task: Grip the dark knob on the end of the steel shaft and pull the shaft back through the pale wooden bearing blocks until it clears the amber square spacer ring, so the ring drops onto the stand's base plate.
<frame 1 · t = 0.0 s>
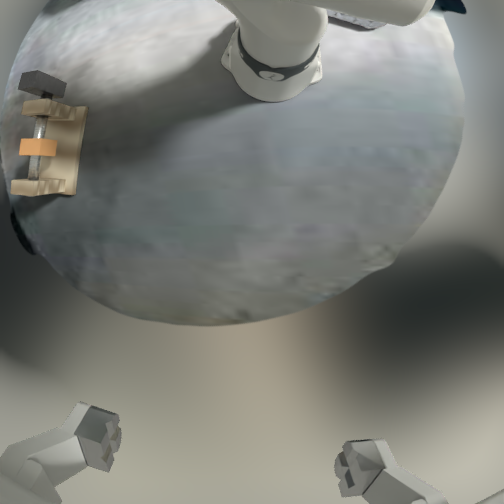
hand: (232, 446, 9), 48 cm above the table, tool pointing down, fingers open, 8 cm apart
shaft: (32, 136, 40), point 11 cm above the table, slide at 0.0 cm, touching spacer
shaft stand: (62, 149, 51), on the table
spacer: (46, 148, 45), point 6 cm above the table, touching shaft
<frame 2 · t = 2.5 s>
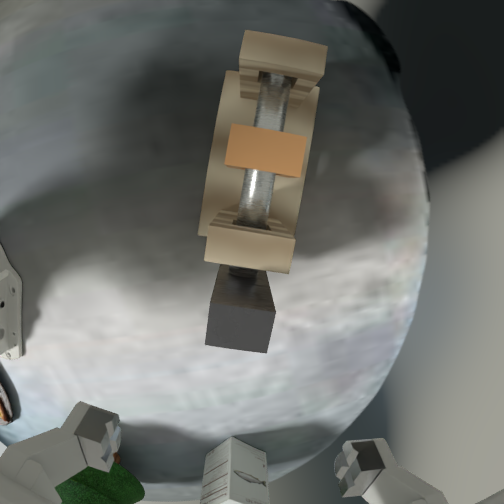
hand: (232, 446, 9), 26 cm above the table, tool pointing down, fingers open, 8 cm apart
shaft: (261, 174, 21), point 11 cm above the table, slide at 0.0 cm, touching spacer
decorative tree: (103, 453, 42), on the table
shaft stand: (258, 158, 31), on the table
supplement box: (235, 452, 42), on the table
spacer: (261, 155, 26), point 6 cm above the table, touching shaft
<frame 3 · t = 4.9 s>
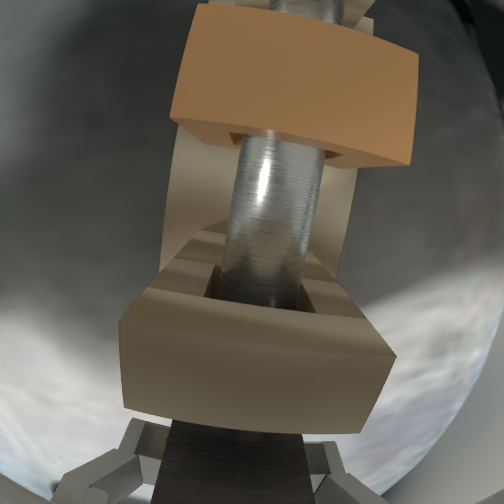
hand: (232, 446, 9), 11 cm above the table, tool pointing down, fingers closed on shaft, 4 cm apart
shaft: (293, 144, 6), point 11 cm above the table, slide at 0.0 cm, touching gripper, spacer
shaft stand: (270, 132, 17), on the table
spacer: (280, 118, 11), point 6 cm above the table, touching shaft
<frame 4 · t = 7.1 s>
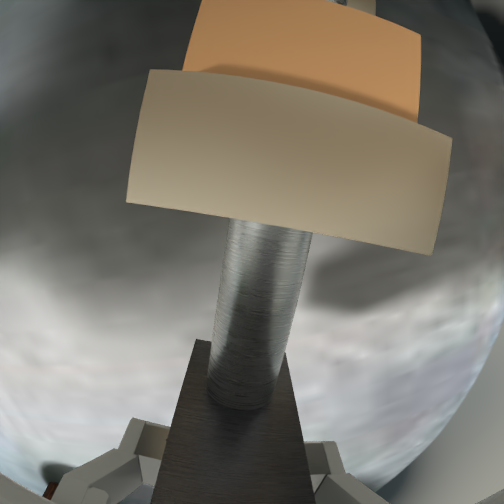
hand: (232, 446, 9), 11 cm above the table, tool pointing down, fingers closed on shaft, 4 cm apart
shaft: (295, 144, 6), point 11 cm above the table, slide at 4.8 cm, touching gripper, spacer
decorative tree: (70, 495, 27), on the table
shaft stand: (284, 60, 15), on the table
spacer: (285, 102, 11), point 6 cm above the table, touching shaft, shaft stand
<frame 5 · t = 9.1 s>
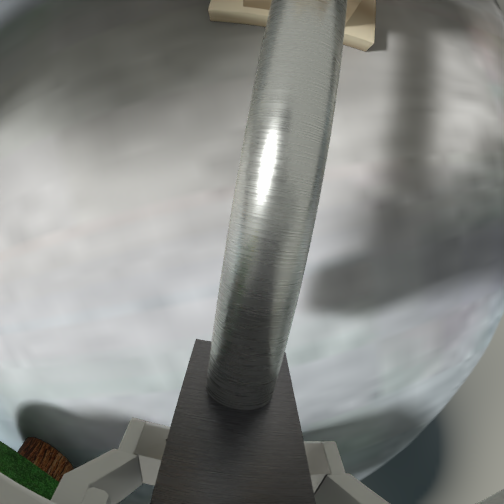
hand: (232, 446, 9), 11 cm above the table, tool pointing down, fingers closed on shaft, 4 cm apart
shaft: (295, 143, 6), point 11 cm above the table, slide at 16.1 cm, touching gripper
decorative tree: (50, 456, 24), on the table
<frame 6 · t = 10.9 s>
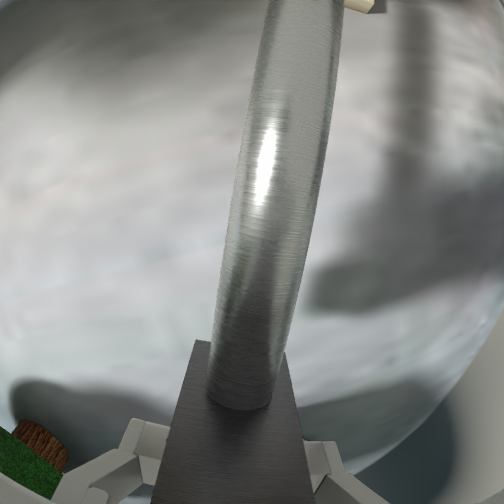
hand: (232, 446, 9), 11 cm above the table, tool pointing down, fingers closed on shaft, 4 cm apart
shaft: (293, 144, 6), point 11 cm above the table, slide at 19.5 cm, touching gripper
decorative tree: (44, 442, 23), on the table
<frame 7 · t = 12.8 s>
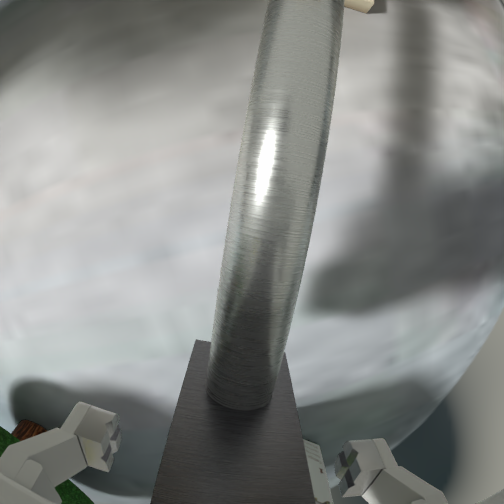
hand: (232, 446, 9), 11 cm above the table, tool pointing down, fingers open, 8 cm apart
shaft: (293, 144, 6), point 11 cm above the table, slide at 19.5 cm
decorative tree: (44, 442, 23), on the table
supplement box: (262, 448, 23), on the table
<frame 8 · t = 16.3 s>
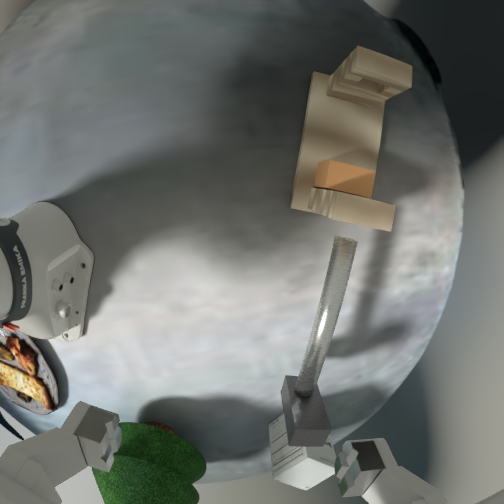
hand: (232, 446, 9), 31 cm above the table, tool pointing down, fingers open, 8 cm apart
shaft: (325, 344, 30), point 11 cm above the table, slide at 19.5 cm
food plate: (17, 362, 44), on the table
decorative tree: (158, 434, 47), on the table
shaft stand: (339, 146, 36), on the table
supplement box: (296, 420, 47), on the table
spacer: (337, 178, 36), point 1 cm above the table, touching shaft stand
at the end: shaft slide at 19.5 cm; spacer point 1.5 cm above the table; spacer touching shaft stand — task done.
